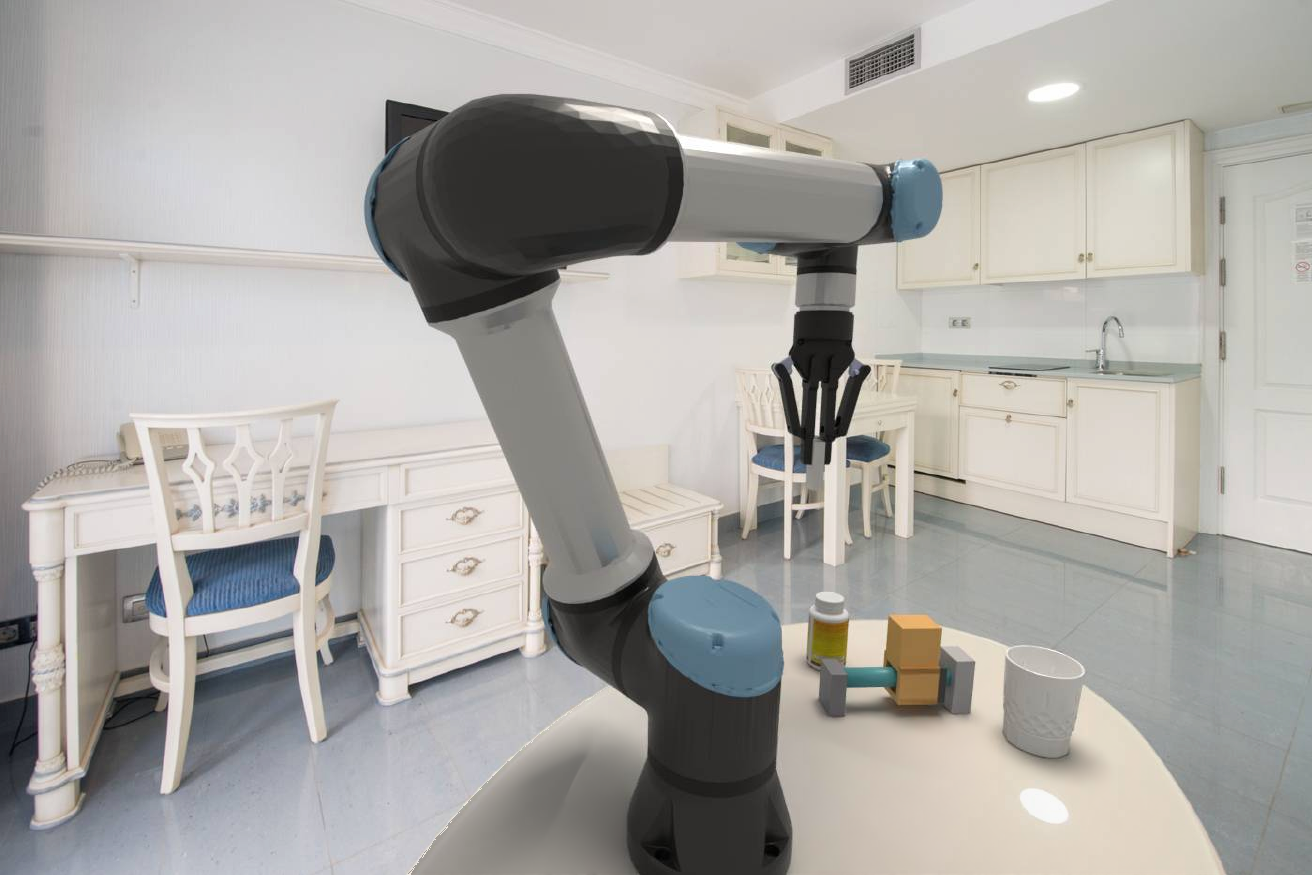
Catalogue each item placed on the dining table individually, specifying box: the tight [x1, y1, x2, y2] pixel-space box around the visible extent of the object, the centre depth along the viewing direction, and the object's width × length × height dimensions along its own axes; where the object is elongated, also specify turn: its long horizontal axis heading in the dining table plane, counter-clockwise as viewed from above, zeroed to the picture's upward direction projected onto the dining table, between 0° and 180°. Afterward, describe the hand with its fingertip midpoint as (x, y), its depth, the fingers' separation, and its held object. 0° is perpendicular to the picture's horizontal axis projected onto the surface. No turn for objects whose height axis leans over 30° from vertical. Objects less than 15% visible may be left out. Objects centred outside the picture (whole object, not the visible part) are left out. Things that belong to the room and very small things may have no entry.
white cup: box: [1002, 644, 1086, 759], centre depth 75 cm, size 8×8×10 cm
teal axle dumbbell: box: [818, 645, 976, 718], centre depth 81 cm, size 18×5×7 cm, turn 94°
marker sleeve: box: [882, 614, 943, 706], centre depth 81 cm, size 5×5×10 cm
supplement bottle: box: [805, 591, 850, 671], centre depth 92 cm, size 6×6×10 cm
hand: (813, 488), depth 86 cm, fingers closed
